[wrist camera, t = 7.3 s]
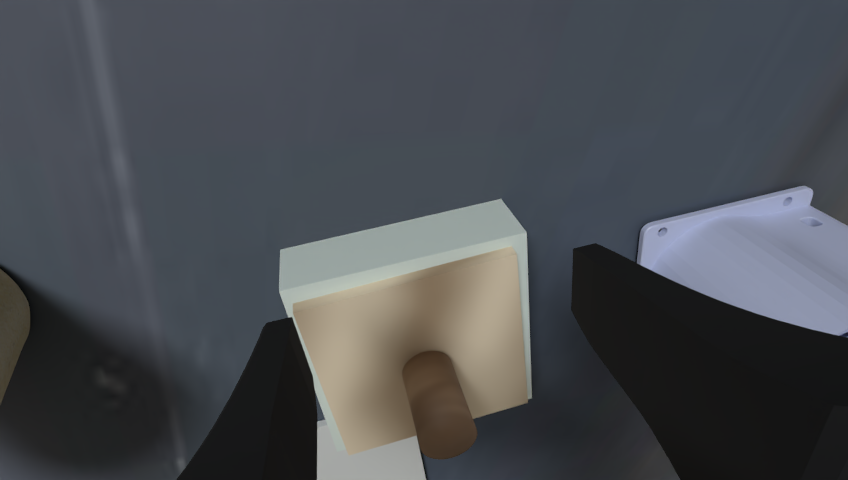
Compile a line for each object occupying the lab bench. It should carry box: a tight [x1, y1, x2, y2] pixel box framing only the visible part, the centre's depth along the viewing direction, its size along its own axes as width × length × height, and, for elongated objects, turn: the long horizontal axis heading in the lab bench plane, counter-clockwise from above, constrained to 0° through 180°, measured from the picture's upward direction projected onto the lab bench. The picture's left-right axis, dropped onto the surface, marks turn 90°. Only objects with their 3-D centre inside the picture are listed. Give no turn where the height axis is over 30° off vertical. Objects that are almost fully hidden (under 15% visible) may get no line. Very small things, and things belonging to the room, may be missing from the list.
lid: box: [293, 246, 528, 459], centre depth 21 cm, size 9×9×5 cm
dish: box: [279, 199, 532, 452], centre depth 25 cm, size 10×10×3 cm
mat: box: [317, 419, 426, 480], centre depth 31 cm, size 10×10×1 cm
